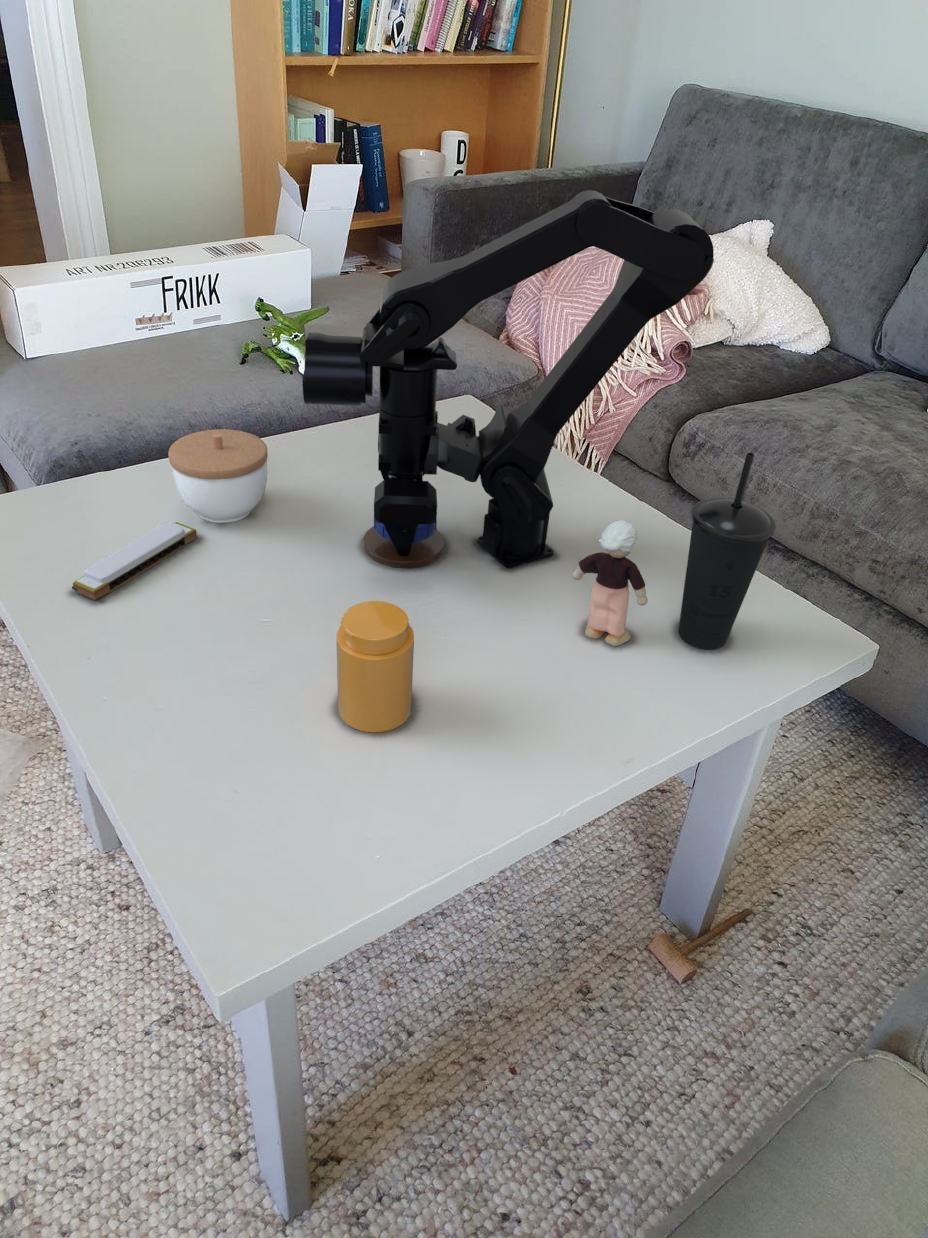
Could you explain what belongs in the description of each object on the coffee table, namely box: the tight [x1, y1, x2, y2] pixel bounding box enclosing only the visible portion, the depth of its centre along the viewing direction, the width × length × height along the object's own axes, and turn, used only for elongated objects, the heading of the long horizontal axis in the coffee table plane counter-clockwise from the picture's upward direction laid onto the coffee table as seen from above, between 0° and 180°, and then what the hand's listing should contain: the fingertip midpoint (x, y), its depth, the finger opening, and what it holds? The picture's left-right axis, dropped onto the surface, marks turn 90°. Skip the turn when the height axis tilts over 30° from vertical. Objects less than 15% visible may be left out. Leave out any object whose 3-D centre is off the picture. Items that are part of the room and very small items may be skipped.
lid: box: [373, 518, 438, 542], centre depth 100 cm, size 7×7×2 cm
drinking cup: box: [677, 452, 777, 651], centre depth 86 cm, size 8×8×20 cm
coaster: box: [362, 525, 445, 569], centre depth 102 cm, size 9×9×1 cm
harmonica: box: [71, 521, 198, 601], centre depth 96 cm, size 15×3×2 cm, turn 151°
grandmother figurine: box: [571, 520, 648, 647], centre depth 88 cm, size 8×4×13 cm, turn 71°
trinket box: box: [167, 428, 269, 524], centre depth 104 cm, size 11×11×9 cm
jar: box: [335, 600, 415, 733], centre depth 78 cm, size 6×6×10 cm
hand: (403, 538), depth 102 cm, fingers closed on lid, 7 cm apart
